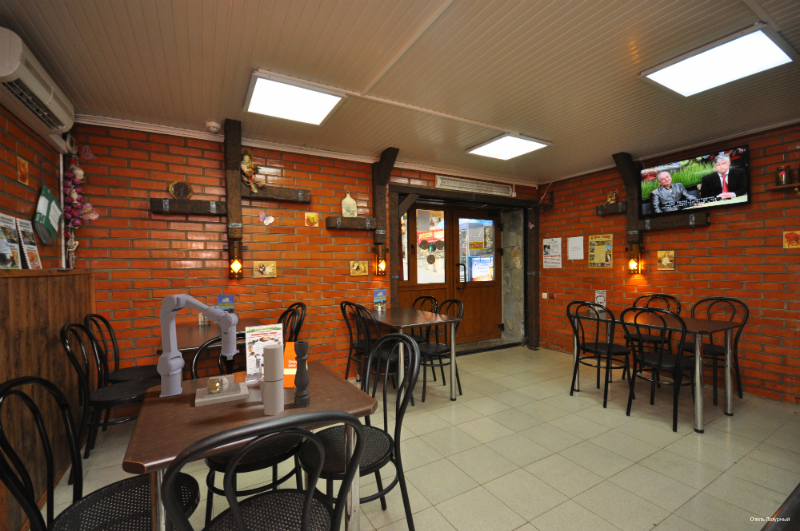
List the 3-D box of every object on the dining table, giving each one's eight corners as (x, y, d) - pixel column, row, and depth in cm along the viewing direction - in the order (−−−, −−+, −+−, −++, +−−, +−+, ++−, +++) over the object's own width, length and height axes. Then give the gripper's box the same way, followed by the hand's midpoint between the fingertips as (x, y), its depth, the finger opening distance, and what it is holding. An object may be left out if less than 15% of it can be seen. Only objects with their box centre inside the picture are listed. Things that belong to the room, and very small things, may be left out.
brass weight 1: (207, 388, 157) (207, 379, 157) (218, 386, 159) (218, 377, 159) (207, 391, 153) (207, 382, 153) (219, 389, 155) (219, 380, 155)
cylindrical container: (272, 417, 133) (271, 349, 133) (260, 413, 137) (259, 347, 137) (287, 410, 139) (287, 345, 139) (275, 406, 143) (274, 343, 143)
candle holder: (295, 402, 147) (294, 340, 148) (311, 401, 148) (310, 340, 148) (292, 408, 141) (291, 344, 141) (308, 407, 142) (307, 343, 142)
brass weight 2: (210, 394, 149) (209, 385, 148) (208, 392, 152) (207, 382, 152) (221, 391, 151) (220, 382, 151) (219, 389, 155) (218, 380, 155)
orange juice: (302, 387, 166) (302, 343, 166) (283, 387, 166) (283, 343, 166) (307, 381, 174) (306, 340, 174) (289, 382, 174) (288, 340, 174)
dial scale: (196, 393, 160) (196, 379, 160) (245, 385, 169) (245, 372, 169) (195, 406, 144) (194, 391, 144) (249, 397, 153) (249, 383, 153)
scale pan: (204, 389, 159) (204, 387, 159) (239, 384, 165) (239, 382, 165) (203, 398, 148) (203, 395, 148) (240, 392, 154) (240, 389, 154)
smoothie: (269, 405, 144) (269, 370, 144) (255, 404, 145) (254, 369, 146) (278, 399, 150) (277, 366, 151) (264, 398, 152) (264, 365, 152)
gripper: (240, 343, 153) (240, 375, 153) (237, 337, 166) (238, 367, 166) (221, 345, 150) (221, 378, 150) (220, 339, 163) (221, 369, 163)
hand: (229, 372), depth 158 cm, fingers open, 4 cm apart
